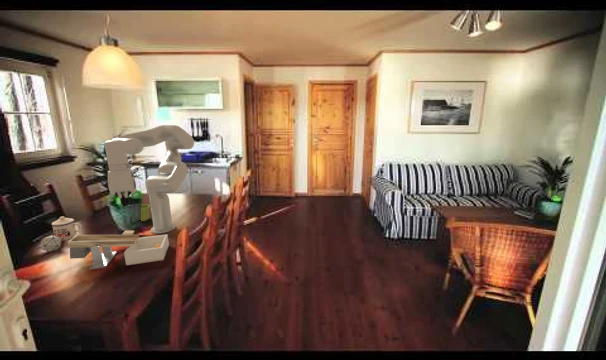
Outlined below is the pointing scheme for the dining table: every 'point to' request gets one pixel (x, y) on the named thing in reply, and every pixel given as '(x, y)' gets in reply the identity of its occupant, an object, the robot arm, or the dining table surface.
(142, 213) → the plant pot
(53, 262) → the dining table surface
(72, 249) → the lever
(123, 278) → the dining table surface
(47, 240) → the game die
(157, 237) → the bin
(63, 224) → the teacup with lid
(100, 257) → the lever stand
